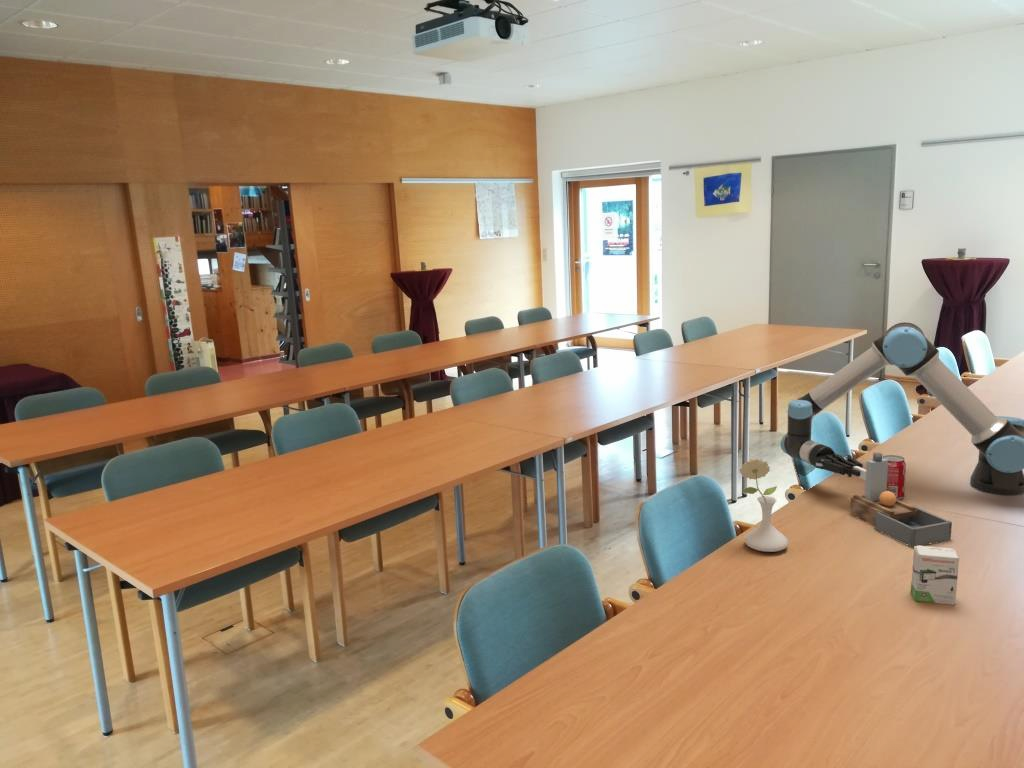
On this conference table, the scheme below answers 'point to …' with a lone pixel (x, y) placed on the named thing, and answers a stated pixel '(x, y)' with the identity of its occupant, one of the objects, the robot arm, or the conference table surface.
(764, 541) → the flower in vase
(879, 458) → the block with cylinder top
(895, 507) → the wooden box
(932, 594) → the ink box
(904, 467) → the soda can
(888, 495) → the ball
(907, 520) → the tray
